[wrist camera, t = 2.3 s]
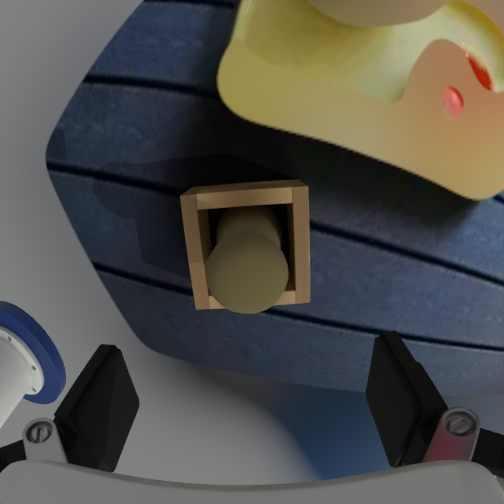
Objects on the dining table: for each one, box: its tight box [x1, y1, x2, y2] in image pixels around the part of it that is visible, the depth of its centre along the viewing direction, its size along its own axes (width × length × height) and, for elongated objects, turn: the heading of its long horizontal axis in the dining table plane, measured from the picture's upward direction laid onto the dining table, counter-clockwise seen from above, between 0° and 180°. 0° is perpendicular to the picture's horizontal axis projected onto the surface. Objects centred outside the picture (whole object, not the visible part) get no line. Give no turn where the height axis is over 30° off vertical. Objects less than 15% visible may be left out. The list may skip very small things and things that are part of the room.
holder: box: [180, 180, 310, 309], centre depth 27 cm, size 9×9×5 cm
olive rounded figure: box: [205, 205, 288, 314], centre depth 24 cm, size 6×6×11 cm
